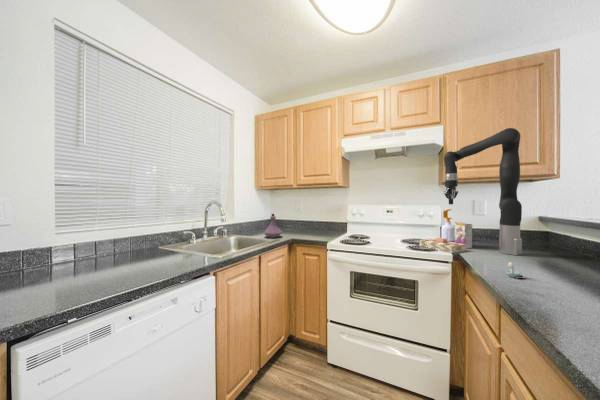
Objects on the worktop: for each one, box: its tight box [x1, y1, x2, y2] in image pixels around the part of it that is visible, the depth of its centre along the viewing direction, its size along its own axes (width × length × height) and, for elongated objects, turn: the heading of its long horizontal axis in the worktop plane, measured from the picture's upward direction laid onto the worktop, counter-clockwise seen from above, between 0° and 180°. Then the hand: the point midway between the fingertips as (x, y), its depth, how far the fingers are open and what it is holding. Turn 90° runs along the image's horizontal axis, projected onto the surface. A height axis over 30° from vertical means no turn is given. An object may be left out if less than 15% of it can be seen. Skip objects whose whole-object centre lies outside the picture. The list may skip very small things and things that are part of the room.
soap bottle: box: [440, 208, 455, 242], centre depth 178 cm, size 9×9×25 cm
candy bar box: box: [454, 221, 473, 249], centre depth 155 cm, size 11×5×16 cm, turn 179°
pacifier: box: [505, 261, 526, 279], centre depth 97 cm, size 7×6×6 cm
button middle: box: [435, 237, 447, 243], centre depth 151 cm, size 5×5×3 cm
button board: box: [419, 238, 467, 254], centre depth 151 cm, size 22×14×4 cm, turn 24°
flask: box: [263, 213, 283, 239], centre depth 194 cm, size 16×16×20 cm
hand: (450, 204), depth 160 cm, fingers closed
